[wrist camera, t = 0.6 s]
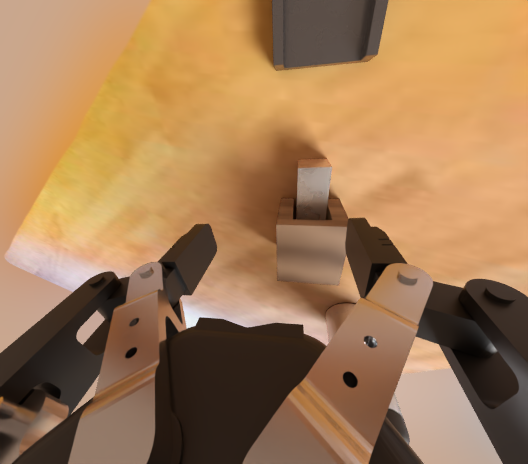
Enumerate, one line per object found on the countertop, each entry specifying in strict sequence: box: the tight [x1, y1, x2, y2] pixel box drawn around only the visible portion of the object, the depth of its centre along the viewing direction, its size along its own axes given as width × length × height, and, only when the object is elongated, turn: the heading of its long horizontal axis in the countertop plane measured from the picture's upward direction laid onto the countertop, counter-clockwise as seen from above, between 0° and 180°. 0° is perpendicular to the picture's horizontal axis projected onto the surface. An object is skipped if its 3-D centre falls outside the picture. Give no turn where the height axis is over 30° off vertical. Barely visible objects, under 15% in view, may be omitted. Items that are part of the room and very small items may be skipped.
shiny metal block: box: [296, 159, 332, 220], centre depth 28 cm, size 11×4×5 cm, turn 4°
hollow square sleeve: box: [276, 198, 348, 285], centre depth 29 cm, size 10×9×8 cm
